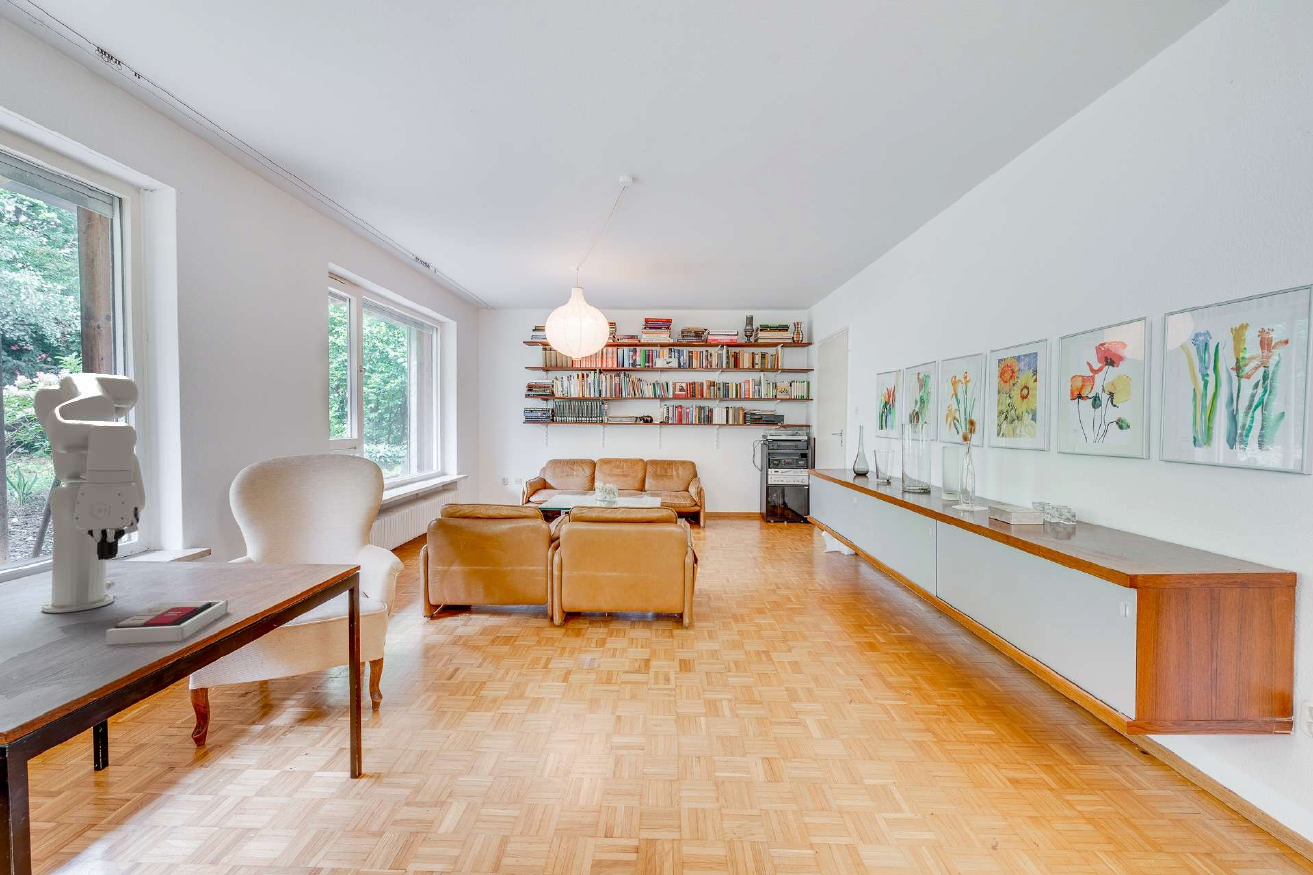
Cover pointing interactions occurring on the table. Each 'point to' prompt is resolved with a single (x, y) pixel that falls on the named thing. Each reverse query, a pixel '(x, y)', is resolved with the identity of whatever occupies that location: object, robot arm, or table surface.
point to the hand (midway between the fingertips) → (107, 558)
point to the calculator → (165, 615)
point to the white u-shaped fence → (167, 628)
